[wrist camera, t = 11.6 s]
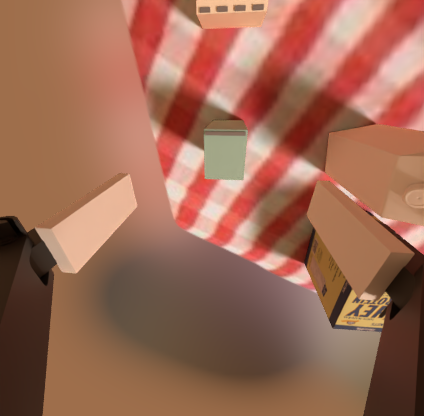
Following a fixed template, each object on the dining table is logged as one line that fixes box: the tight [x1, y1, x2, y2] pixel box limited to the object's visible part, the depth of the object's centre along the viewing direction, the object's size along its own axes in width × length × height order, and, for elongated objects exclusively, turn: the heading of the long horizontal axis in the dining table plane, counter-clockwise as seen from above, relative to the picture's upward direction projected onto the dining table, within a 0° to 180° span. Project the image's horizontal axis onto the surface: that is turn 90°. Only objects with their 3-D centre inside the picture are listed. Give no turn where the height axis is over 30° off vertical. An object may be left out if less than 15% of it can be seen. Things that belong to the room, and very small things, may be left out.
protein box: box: [305, 212, 392, 332], centre depth 35 cm, size 10×16×16 cm
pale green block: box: [204, 120, 248, 180], centre depth 27 cm, size 6×5×12 cm
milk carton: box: [325, 124, 424, 226], centre depth 23 cm, size 7×7×19 cm
